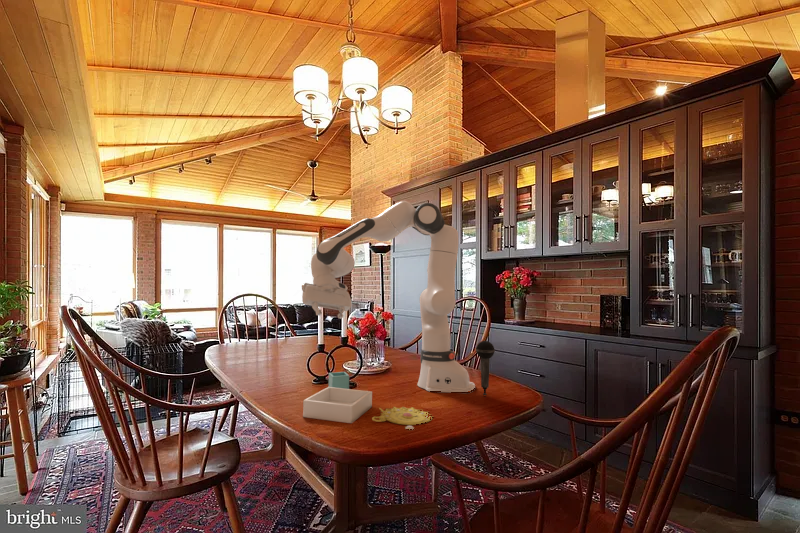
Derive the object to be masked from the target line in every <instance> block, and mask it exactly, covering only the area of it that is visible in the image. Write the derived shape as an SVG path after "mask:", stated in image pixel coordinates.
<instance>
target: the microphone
mask: <svg viewBox="0 0 800 533" xmlns="http://www.w3.org/2000/svg"><path fill="white" fill-rule="evenodd" d="M495 351H496V349H495V347H494V345H493V343H492V342H491V341H488V340H483V341H480V342H478V344H477V345H476V347H475V352H476V354H477V356H478V357H479V358H480V383H481V384H480V386H481V388H482V389H483V394H482V395H487V390H488V389H489V387H490V384H489V382H490V362H491V358H492V357H493V356H494V354H495Z"/></svg>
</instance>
